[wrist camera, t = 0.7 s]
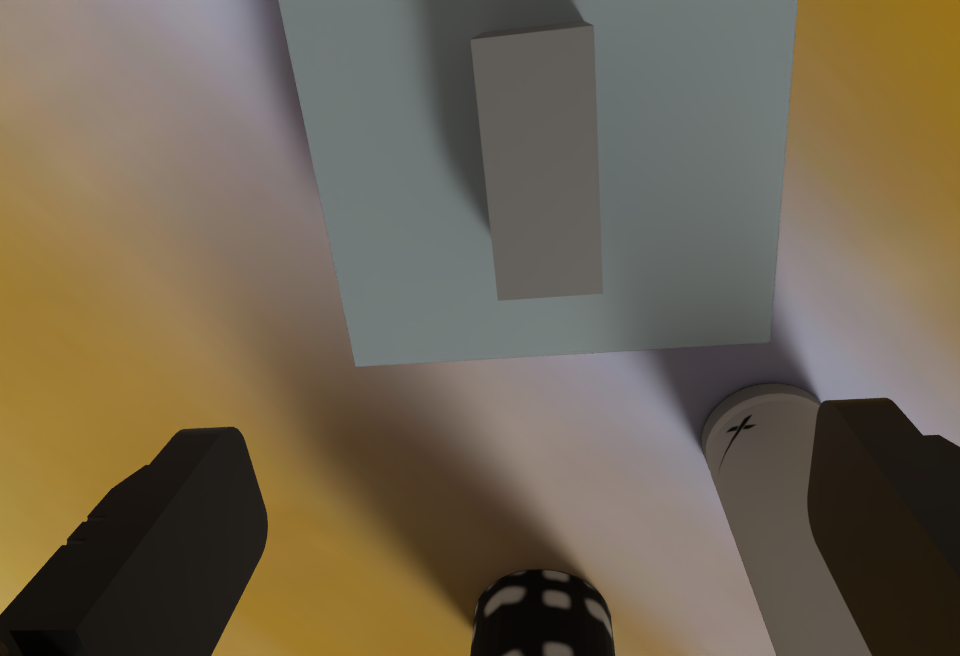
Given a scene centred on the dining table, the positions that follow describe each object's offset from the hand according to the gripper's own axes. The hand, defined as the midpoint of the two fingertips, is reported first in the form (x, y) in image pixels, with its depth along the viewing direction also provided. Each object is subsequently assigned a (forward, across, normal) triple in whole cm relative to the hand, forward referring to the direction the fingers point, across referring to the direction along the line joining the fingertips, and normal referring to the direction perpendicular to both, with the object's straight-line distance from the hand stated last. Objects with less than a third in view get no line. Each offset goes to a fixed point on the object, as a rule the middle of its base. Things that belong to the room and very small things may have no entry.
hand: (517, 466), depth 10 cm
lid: (+16, 0, -2) cm, 16 cm away
